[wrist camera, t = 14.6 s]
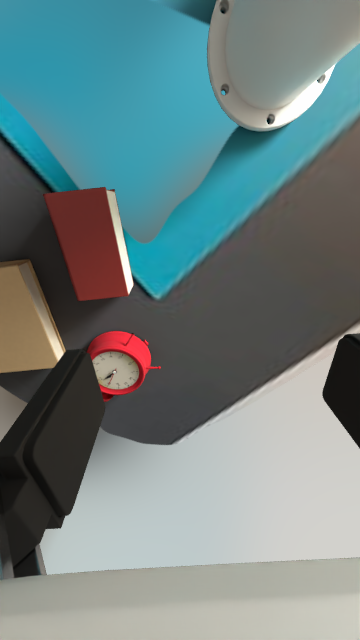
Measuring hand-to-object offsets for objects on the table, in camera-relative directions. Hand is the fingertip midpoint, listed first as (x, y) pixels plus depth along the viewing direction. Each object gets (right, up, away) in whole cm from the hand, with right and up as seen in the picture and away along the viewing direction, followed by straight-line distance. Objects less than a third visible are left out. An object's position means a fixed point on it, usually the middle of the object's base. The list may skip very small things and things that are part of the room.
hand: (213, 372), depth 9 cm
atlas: (-27, +3, +26) cm, 37 cm away
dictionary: (-12, +12, +21) cm, 27 cm away
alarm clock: (-13, -5, +30) cm, 33 cm away
